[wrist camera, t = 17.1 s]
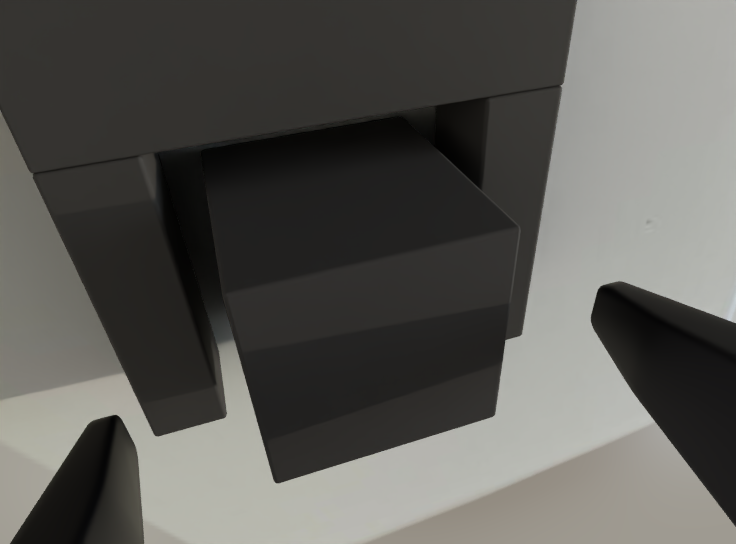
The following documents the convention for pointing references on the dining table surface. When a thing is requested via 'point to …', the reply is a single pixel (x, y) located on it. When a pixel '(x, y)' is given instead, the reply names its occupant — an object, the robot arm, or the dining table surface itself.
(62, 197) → the base pad
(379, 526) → the dining table surface
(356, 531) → the dining table surface
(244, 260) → the pad block
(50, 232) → the dining table surface
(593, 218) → the dining table surface
